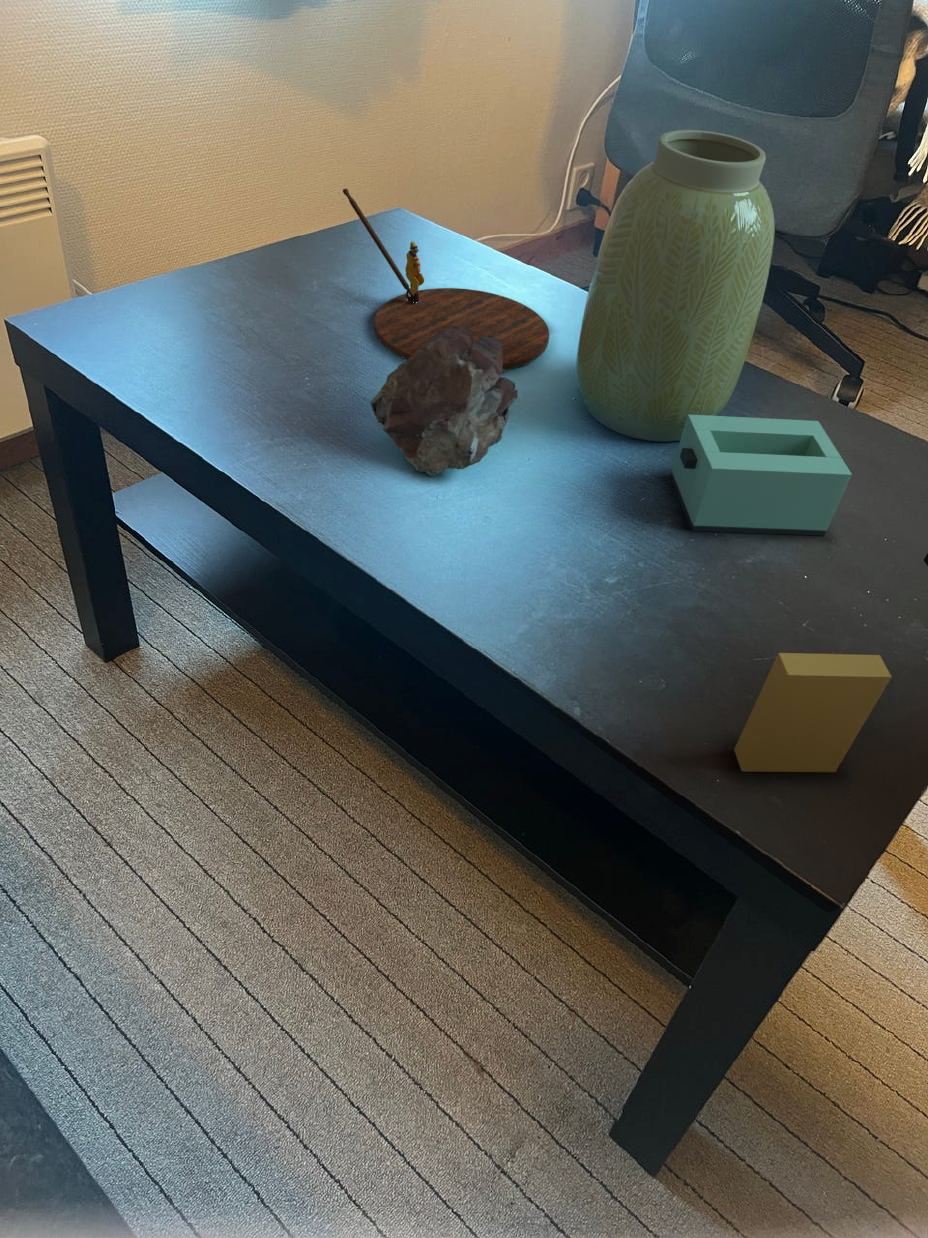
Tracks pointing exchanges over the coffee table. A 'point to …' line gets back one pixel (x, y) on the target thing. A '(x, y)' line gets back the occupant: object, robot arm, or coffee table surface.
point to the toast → (810, 711)
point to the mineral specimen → (447, 401)
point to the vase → (677, 287)
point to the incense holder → (453, 314)
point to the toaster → (758, 475)
